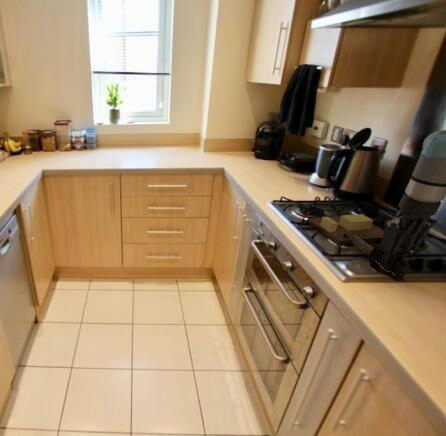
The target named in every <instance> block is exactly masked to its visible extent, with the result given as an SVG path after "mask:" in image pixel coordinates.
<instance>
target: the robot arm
mask: <svg viewBox="0 0 446 436" xmlns="http://www.w3.org/2000/svg"><path fill="white" fill-rule="evenodd" d="M419 155H420V156H419V158H418V160H417V162H416V165H415V167H414V169H413V172H412V174H411V177H410V179H409V181H408V184H407V186H406V188H405V190H404V194H402V196H401V199H400V200H399V203H398V208H399V211H400V212H399V213H398V214H397V213H396V216H395V217H394V218H393V219H386V220H385V221H384V233H383V237H382V240H381V241H380V244H379V245H380V247H379V248H380V249H381V250H382V251H384V252H385V253H384V255H383V257H382V262H381V264H380V265H381V266H382V267H383V268H384V269H385V270H387V271H390V270H391V268H392V266H393V264H394V262H395V260H396V258H397V257H399V258H400V259H401V260H403V261H404V260H405V258H406V257H407V256H412V255H413V254H414V252H416V251H417V250H418V249H419V247H420V246H421V244H422V243H423V241H424V239H425V238H426V236H427V235H428V234H429V232H430V231H431V229H432V228H433V227H434V226H435V225H436V224H437V222H438V221H437V220H436V219H434V218H432V217H433V216H435V215H436V214H437V212H438V211H439V208H440V206H441V205H442V201H443V200H445V198H446V129H440V130H435V131H434V132H432V133H430V134H428V136H427V137H426V138H424V141H423V143H422V150H421V152H420V154H419ZM413 245H414V246H413ZM398 249H399V250H398ZM410 251H414V252H413V253H411V252H410ZM407 254H408V255H407ZM404 262H405V261H404ZM384 269H382V268H381V267H380V266H378V270H380V271H381V272H383V273H384V274H385V275H389V272H387V271H385V270H384Z"/></svg>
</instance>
